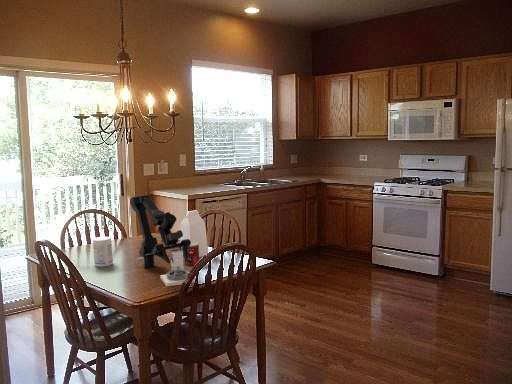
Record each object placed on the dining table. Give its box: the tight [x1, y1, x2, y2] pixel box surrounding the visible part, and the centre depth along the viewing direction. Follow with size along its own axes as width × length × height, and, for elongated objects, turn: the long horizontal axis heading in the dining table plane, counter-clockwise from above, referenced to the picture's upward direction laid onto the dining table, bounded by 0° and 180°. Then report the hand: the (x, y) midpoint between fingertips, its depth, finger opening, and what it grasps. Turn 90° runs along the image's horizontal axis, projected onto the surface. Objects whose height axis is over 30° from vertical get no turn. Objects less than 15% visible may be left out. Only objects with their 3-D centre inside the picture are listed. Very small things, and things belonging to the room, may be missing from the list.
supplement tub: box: [92, 236, 114, 268], centre depth 254 cm, size 10×10×15 cm
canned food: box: [183, 242, 200, 266], centre depth 254 cm, size 8×8×11 cm
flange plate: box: [159, 269, 195, 287], centre depth 226 cm, size 14×14×4 cm
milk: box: [179, 209, 209, 258], centre depth 270 cm, size 12×12×26 cm
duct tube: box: [169, 248, 185, 276], centre depth 225 cm, size 6×6×13 cm
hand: (178, 261), depth 224 cm, fingers open, 9 cm apart
